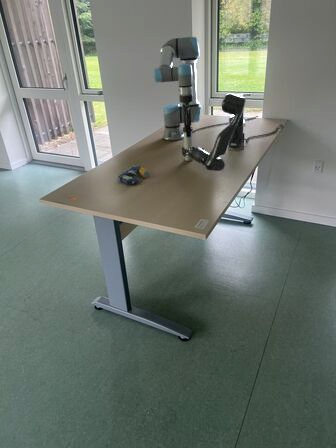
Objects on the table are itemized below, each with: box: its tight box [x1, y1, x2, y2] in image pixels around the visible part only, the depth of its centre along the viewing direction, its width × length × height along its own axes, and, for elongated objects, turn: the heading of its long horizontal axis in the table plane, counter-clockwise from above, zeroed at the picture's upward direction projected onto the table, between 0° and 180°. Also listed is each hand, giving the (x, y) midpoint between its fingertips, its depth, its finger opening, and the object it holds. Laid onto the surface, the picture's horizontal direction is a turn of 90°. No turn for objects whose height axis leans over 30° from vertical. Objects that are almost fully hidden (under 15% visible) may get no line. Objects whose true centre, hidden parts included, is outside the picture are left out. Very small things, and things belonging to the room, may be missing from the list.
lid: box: [182, 126, 194, 133], centre depth 199 cm, size 6×6×2 cm
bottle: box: [183, 132, 194, 162], centre depth 203 cm, size 5×5×19 cm
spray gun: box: [116, 164, 150, 186], centre depth 188 cm, size 21×4×15 cm
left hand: (187, 135), depth 200 cm, fingers closed on lid, 6 cm apart
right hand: (186, 148), depth 207 cm, fingers closed on bottle, 4 cm apart
